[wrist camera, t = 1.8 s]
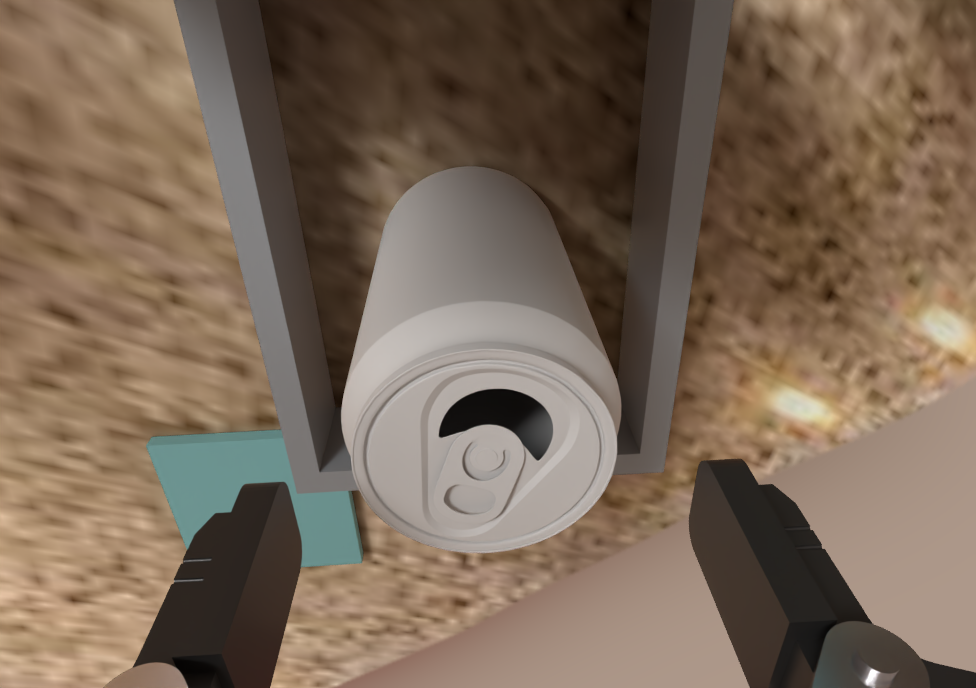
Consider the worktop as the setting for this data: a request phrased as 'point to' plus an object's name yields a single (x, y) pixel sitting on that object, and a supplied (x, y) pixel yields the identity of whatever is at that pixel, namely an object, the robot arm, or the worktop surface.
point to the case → (283, 259)
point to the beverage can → (478, 372)
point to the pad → (242, 460)
